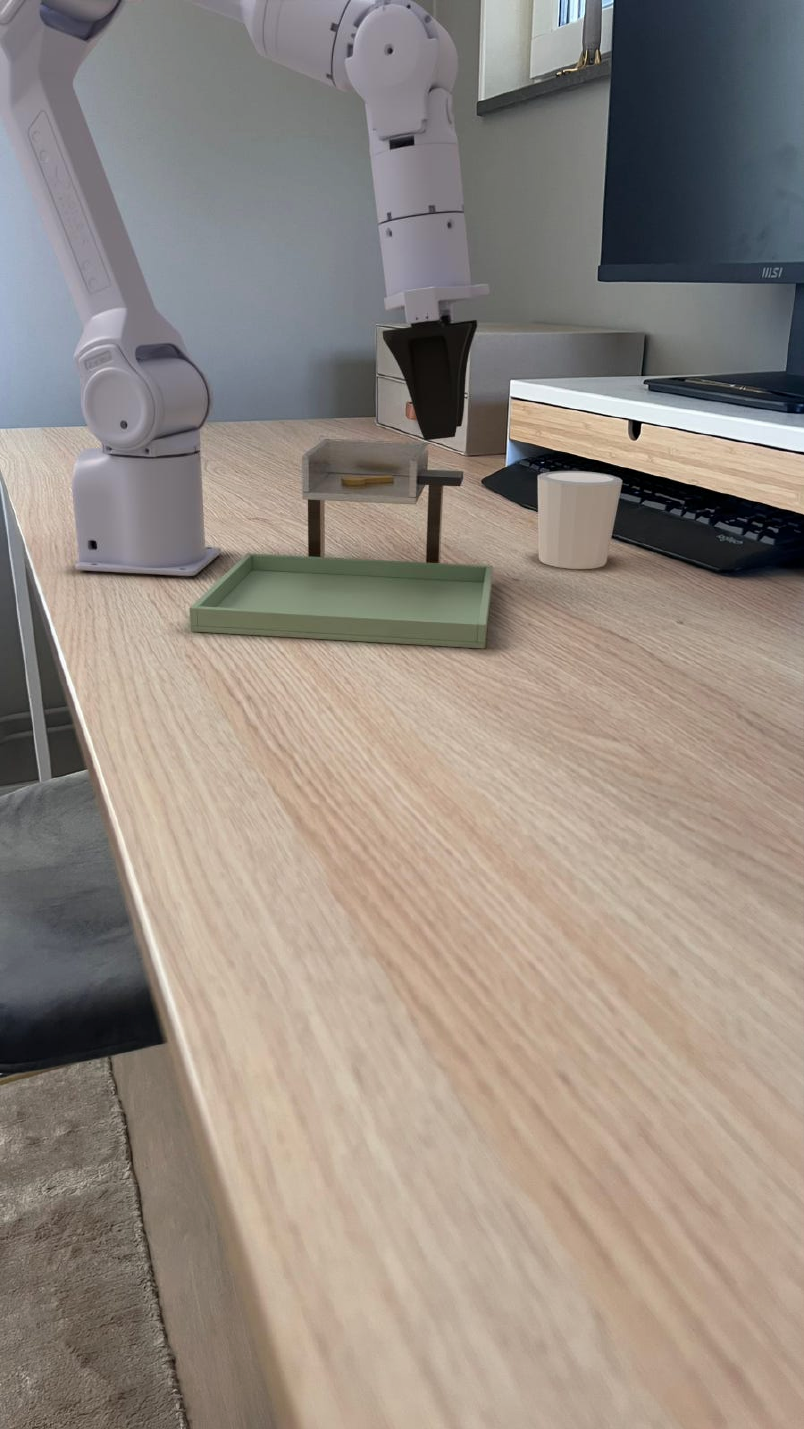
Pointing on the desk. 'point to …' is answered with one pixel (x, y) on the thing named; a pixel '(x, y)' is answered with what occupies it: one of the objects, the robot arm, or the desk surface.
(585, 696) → the desk surface
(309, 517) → the stand
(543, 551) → the white cup
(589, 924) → the desk surface
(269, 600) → the tray
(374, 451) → the rectangular metal pan
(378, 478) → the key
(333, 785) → the desk surface
